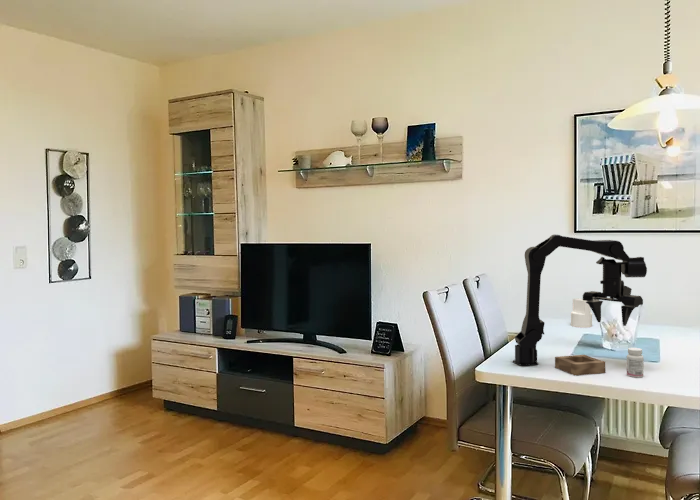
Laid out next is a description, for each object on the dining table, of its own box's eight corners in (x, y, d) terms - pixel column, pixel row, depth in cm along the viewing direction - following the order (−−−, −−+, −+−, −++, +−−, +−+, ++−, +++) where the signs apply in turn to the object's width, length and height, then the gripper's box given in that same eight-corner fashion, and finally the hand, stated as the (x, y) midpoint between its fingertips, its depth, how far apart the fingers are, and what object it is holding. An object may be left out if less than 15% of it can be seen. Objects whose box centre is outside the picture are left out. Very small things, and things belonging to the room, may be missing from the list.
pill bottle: (628, 372, 192) (629, 346, 192) (645, 375, 189) (645, 348, 189) (624, 376, 188) (624, 349, 188) (641, 378, 185) (641, 351, 185)
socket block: (575, 375, 190) (575, 364, 190) (555, 367, 201) (555, 356, 200) (605, 372, 193) (605, 362, 192) (584, 364, 203) (584, 354, 203)
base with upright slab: (566, 325, 278) (566, 299, 278) (583, 323, 281) (583, 298, 280) (579, 328, 270) (579, 301, 269) (596, 327, 272) (596, 300, 272)
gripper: (652, 277, 199) (651, 324, 200) (600, 274, 215) (600, 317, 215) (633, 280, 193) (633, 328, 194) (581, 276, 208) (581, 321, 209)
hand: (611, 323), depth 203 cm, fingers open, 9 cm apart
